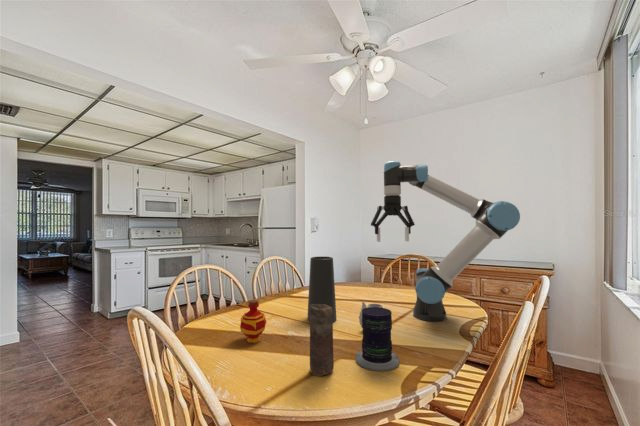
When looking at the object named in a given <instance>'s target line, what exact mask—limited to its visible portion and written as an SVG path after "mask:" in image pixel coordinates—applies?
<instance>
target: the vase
mask: <svg viewBox="0 0 640 426" xmlns="http://www.w3.org/2000/svg"><path fill="white" fill-rule="evenodd" d="M309 263H310V264H309V281H308V282H309V283H308V284H309V285H308V296H307V297H308V300H307V301H308V302H307V317H306V318H307V319H306V320H307V321H308V322H309V323H310V305H311V304H325V305H328V306H329V307H332V311H333V312H332V314H333V323H336V321H337V307H336V306H337V305H336V304H337V303H336V301H337V300H336V289H335V288H336V287H335V284H336V283H335V272H334V271H335V269H334V268H335V267H334V258H333V257H332V256H312V257H310V262H309Z"/></svg>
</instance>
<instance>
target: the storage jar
mask: <svg viewBox="0 0 640 426" xmlns="http://www.w3.org/2000/svg"><path fill="white" fill-rule="evenodd" d="M367 307H368V306H367ZM392 324H393V319H392V310H390V309H388V308H385V307H383V308H380V307H368V308H364V309H363V310H362V327H361V328H362V339H361V350H362V352H363V353H362V357H363V359H364V360H366V361H368V362H371V363H378V364H381V363H387V362H390V361H391V360H392V355H391V354H392V352H393V341H392V329H393V326H392Z"/></svg>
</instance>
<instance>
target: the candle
mask: <svg viewBox="0 0 640 426" xmlns="http://www.w3.org/2000/svg"><path fill="white" fill-rule="evenodd" d="M332 312H333V311H332V307H329V306H328V305H325V304H311V305H310V322H309V370H310V371H311V374H312V375H314V376H319V377H320V376H325V375H327V374H331V373H332V372H333V371H334V366H335V364H334V359H335V358H334V335H333V334H334V333H333V332H334V328H333V326H334V322H333V314H332Z"/></svg>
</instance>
